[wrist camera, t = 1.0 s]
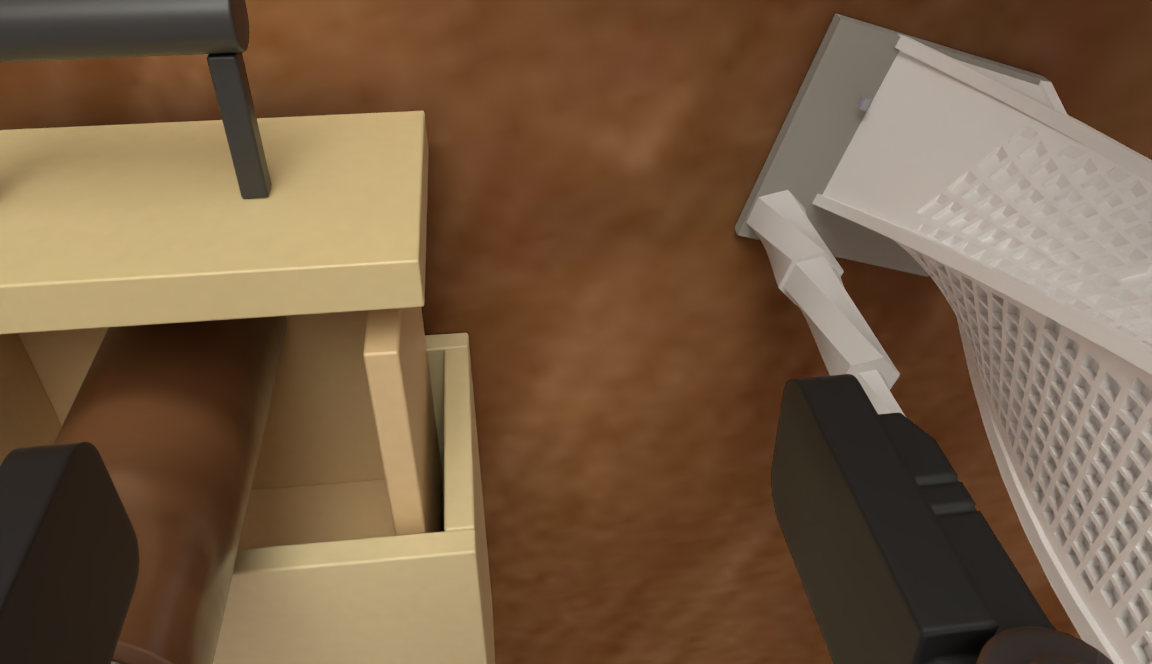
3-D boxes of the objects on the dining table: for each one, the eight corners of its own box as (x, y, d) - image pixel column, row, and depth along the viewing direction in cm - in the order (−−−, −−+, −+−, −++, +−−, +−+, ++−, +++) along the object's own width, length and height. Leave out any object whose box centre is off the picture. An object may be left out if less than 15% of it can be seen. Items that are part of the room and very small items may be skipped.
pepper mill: (102, 257, 25) (-124, 682, 15) (270, 247, 25) (157, 654, 15) (149, 380, 27) (-17, 809, 18) (299, 370, 28) (220, 783, 18)
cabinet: (1, 363, 29) (-144, 607, 22) (468, 331, 30) (476, 552, 23) (137, 635, 38) (65, 872, 31) (492, 601, 39) (503, 821, 32)
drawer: (-208, -62, 20) (-465, 64, 15) (404, -79, 22) (391, 31, 16) (69, 497, 31) (-15, 693, 26) (462, 465, 33) (466, 645, 27)
